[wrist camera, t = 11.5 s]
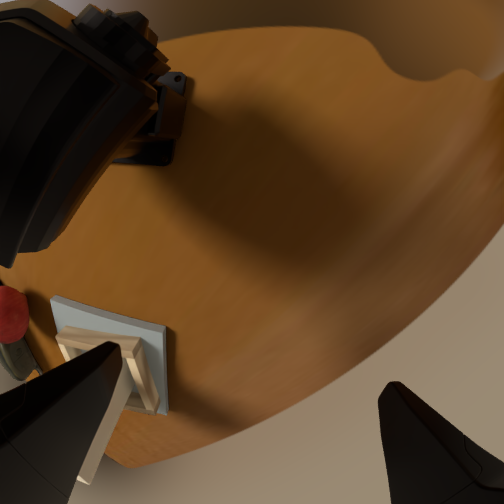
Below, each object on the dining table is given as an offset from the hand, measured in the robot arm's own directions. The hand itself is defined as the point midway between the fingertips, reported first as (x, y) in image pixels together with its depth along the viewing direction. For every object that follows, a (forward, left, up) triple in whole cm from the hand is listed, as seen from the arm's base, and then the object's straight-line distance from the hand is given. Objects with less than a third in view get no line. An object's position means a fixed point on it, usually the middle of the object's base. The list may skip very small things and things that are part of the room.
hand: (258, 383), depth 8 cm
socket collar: (-12, -14, -12) cm, 22 cm away
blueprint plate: (-13, -14, -12) cm, 22 cm away
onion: (-24, -10, -12) cm, 29 cm away
